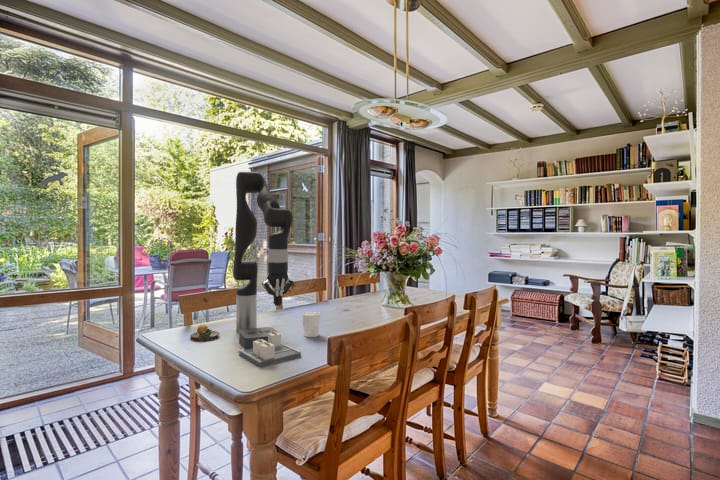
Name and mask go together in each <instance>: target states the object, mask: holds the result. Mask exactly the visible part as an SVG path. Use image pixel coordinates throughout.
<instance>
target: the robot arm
mask: <svg viewBox="0 0 720 480" xmlns="http://www.w3.org/2000/svg"><path fill="white" fill-rule="evenodd" d="M235 187H236V189H235V190H236V191H235V192H236V195H235V196H236V213H235V215H236V216H235V217H236V218H235V233H234V234H235V237H234V238H235V241H234V242H235V244H234V245H235V250H234V258H233V259H234V260H233V269H232V270H233V271H232V275H233V278H234V280H236V281H249V282H248V283H246V284H245V285H242V286H240V287H237V289H236V295H235V296H236V297H235V298H236V302H235V303H236V311H235V312H236V313H235V314H236V316H235V317H236V320H235V321H236V322H235V323H236V324H235V325H236V329H235V330H236V331H235V332H237V333H239V331H241V330H245V329H253V328H258V325H257V319H258V318H257V316H258V314H257V312H258V311H257V309H258V307H257V305H258V304H257V303H258V297H257V295H258V293H257V292H258V262H257V261H256V260H243V258H244V254H245V253H246V251H247V250H248V248H249V247H250V246H251V245H252V243H253V242H254V241H255V239H256V237H257V229H258V220H257V219H256V216H255V215H254V213H253V212H252V210H251V209H250V207H249V205H248V202H247V194H256V193H258V194H257V196H256V204H257V207H259V209H260V210H261V212H262V214H263V219H264V220H263V222H264V223H265V225H266V226H268V227H272V228H279V230H278V232H273V233H271V234H270V235H269V236H268V254H267V274H268V275H267V277H266V280H265V281H263V282H261V286H262V287H263V288H264V289H265V291H266V292H267V293H268V295H271V296H273V302H272V303H273V304H274V306H276V307H280V306H282V303H283V296H284V295H286V294H287V293H288V292H289V290H290V289H291V287H292V285H293V284H294V280H291V279H290V278H289V275H288V272H289V252H288V251H289V250H288V245H289V244H288V242H289V241H288V239H289V234H290V232H291V231H290V230H291V226H292V224H293V217H294V216H293V213H292V212H291V210H290V209H287V208H281V206H280V203H279V202H278V201H277V200H276V198H275V197H274V196H273V194H272V193H271V190H270V188H269V186H268V184H267V181H266V180H265V177H264V175H263V174H261V173H260V172H258V171H246V170H245V171H238V172H237V175H236V179H235ZM270 286H271V287H270Z"/></svg>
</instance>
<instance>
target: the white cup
mask: <svg viewBox="0 0 720 480" xmlns="http://www.w3.org/2000/svg"><path fill="white" fill-rule="evenodd" d="M320 318H321V313H320V312H319V311H318V312H317V311H307V312H303V313H302V329H303V336H304V337H306V338H316V337H318V336H320V335H319V334H320V332H319V331H320V322H321V321H320V320H321V319H320Z"/></svg>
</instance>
